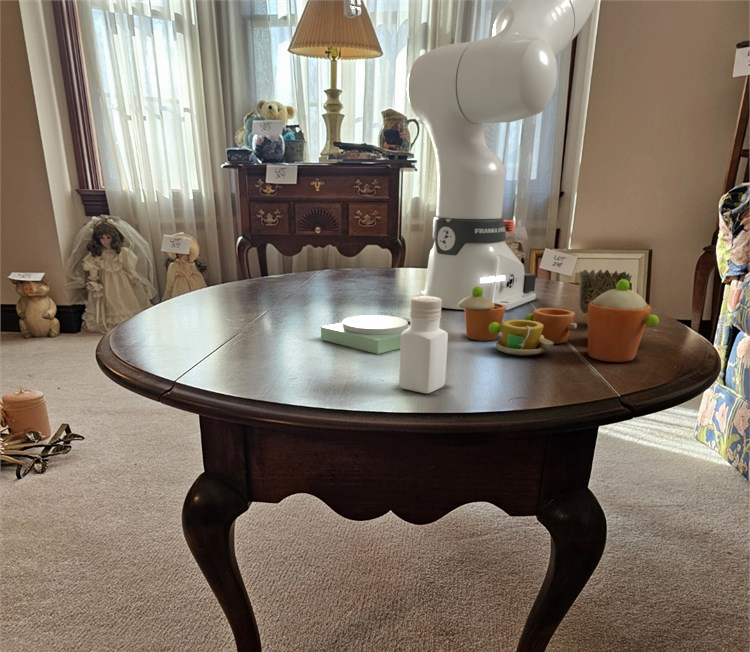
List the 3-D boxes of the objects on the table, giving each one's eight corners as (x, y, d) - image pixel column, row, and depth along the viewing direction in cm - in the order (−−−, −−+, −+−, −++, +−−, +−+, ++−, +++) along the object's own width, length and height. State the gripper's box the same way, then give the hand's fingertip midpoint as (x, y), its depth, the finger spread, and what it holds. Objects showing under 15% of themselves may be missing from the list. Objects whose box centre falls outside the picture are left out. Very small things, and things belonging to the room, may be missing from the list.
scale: (380, 327, 99) (380, 309, 98) (436, 339, 92) (437, 320, 91) (320, 339, 91) (320, 320, 90) (377, 354, 84) (377, 334, 83)
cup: (625, 333, 97) (635, 277, 94) (573, 330, 98) (582, 274, 95) (618, 323, 104) (628, 270, 100) (570, 320, 105) (578, 268, 101)
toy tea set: (640, 339, 94) (654, 268, 89) (663, 368, 80) (681, 286, 76) (458, 330, 98) (462, 262, 93) (451, 356, 84) (456, 277, 80)
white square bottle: (396, 389, 71) (399, 299, 67) (416, 380, 74) (419, 294, 70) (428, 396, 69) (433, 303, 65) (446, 387, 72) (452, 298, 68)
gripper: (454, -169, 71) (455, -13, 76) (338, -99, 85) (346, 28, 91) (412, -187, 67) (416, -21, 73) (298, -110, 82) (309, 23, 87)
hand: (376, 7), depth 82 cm, fingers open, 8 cm apart
